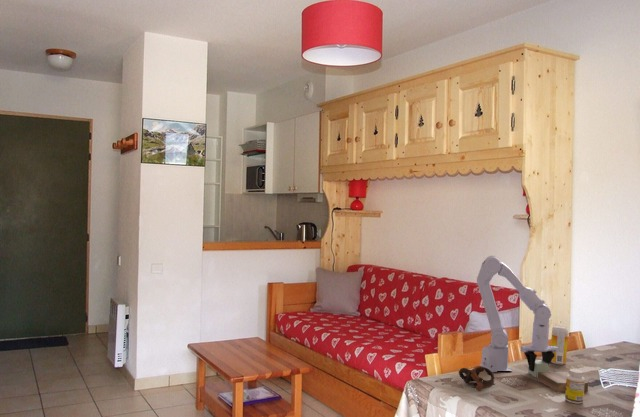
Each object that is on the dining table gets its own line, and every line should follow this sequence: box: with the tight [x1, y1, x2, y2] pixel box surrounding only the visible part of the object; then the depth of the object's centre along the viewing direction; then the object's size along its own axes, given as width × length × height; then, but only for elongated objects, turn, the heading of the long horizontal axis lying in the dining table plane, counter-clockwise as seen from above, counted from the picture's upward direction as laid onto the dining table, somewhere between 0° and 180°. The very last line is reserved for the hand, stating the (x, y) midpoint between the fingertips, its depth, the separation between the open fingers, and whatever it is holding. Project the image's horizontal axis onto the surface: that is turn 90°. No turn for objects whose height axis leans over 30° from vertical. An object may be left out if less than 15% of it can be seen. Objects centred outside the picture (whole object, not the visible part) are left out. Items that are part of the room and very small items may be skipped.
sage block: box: [527, 359, 549, 378], centre depth 212 cm, size 5×5×5 cm
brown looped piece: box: [458, 365, 495, 392], centre depth 193 cm, size 12×10×8 cm
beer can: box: [550, 325, 569, 366], centre depth 230 cm, size 6×6×15 cm
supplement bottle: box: [564, 368, 586, 405], centre depth 185 cm, size 6×6×10 cm
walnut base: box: [537, 371, 589, 392], centre depth 201 cm, size 12×12×3 cm
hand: (538, 370), depth 212 cm, fingers closed on sage block, 5 cm apart
